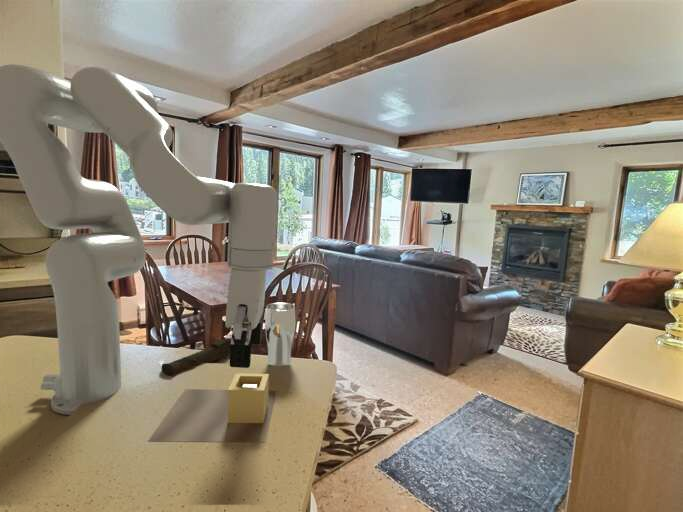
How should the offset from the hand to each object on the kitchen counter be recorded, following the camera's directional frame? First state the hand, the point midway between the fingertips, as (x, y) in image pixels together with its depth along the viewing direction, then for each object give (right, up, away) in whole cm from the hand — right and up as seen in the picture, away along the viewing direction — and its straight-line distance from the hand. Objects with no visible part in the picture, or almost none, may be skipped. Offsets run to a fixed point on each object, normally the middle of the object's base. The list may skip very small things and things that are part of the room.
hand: (245, 354), depth 64 cm
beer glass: (+2, -10, +24) cm, 25 cm away
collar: (0, -11, +1) cm, 11 cm away
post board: (-5, -12, +1) cm, 13 cm away
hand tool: (-17, -9, +23) cm, 29 cm away
